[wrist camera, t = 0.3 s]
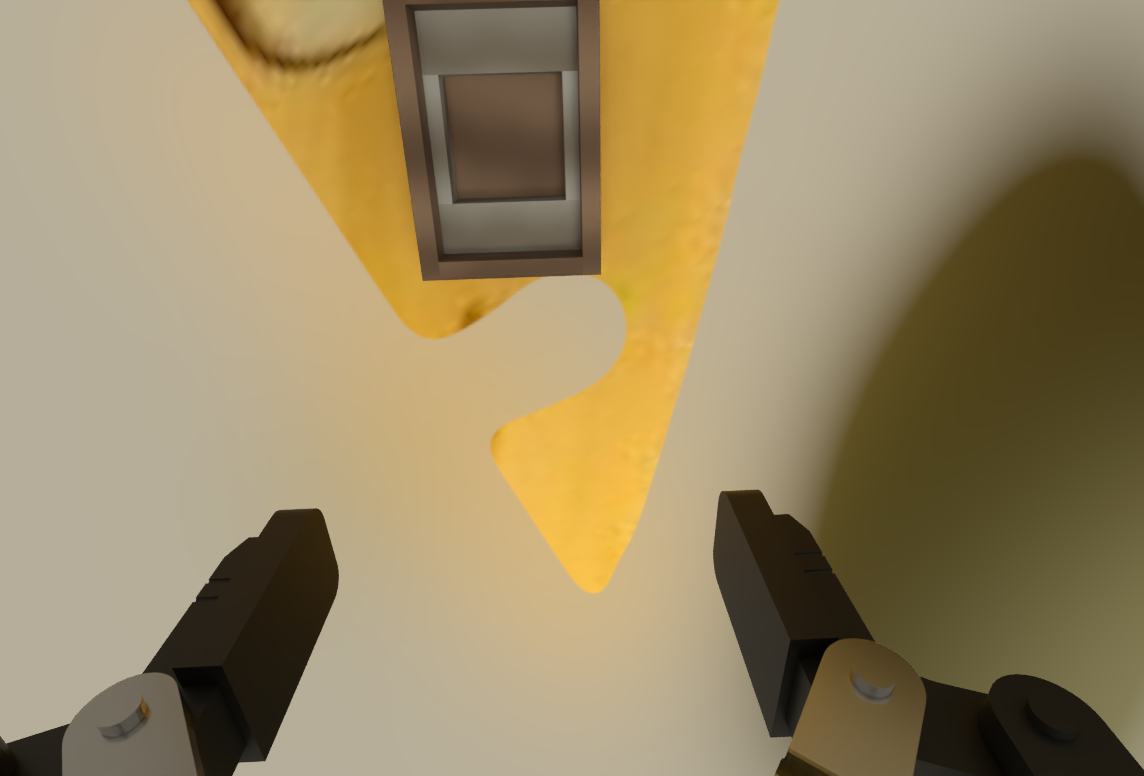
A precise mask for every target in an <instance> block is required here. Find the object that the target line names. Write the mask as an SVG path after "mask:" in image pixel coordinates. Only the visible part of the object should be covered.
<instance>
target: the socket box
mask: <svg viewBox="0 0 1144 776" xmlns="http://www.w3.org/2000/svg"><path fill="white" fill-rule="evenodd" d="M383 6H384V13H385V20H386V27H387V34H388V41H389V48H390V55H391V62H392V69H393V76H394V83H395V90H396V97H397V104H398V111H399V118H400V125H401V132H402V139H403V146H404V153H405V160H406V167H407V174H408V180H409V187H410V194H411V201H412V208H413V215H414V222H415V229H416V236H417V243H418V250H419V257H420V264H421V271H422V278H423V281H429V280H458V279H486V278H514V277H542V276H570V275H599V274H601V201H600V20H599V0H383Z"/></svg>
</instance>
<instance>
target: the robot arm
mask: <svg viewBox="0 0 1144 776" xmlns="http://www.w3.org/2000/svg"><path fill="white" fill-rule="evenodd" d="M713 559H714V568H715V574H716V579H717V582H718V585H719V588H720V591H721V594H722V597H723V600H724V603H725V606H726V609H727V612H728V614H729V617H730V620H731V623H732V626H733V629H734V632H735V635H736V638H737V641H738V644H739V647H740V650H741V653H742V655H743V658H744V661H745V664H746V667H747V670H748V673H749V676H750V679H751V682H752V685H753V688H754V691H755V693H756V697H757V699H758V702H759V705H760V708H761V711H762V714H763V717H764V720H765V723H766V726H767V729H768V731H769V735H770V737H789V736H791V737H792V741H791V743H790V746H789V749H788V751H787V754H786V756H785V758H784V759H782V760H781V761H780V763H779V766H778V768H777V770H776V773H775V776H1144V770H1143V769H1142V767H1141V766H1140V765H1139V764H1138V762H1137V761H1136V760H1135V759H1134V757H1133V756H1132V755H1131V754H1130V753H1129V751H1128V750H1127V749H1126V748H1125V747H1124V745H1123V744H1122V743H1121V742H1120V740H1119V739H1118V738H1117V737H1116V735H1115V734H1114V733H1113V732H1112V731H1111V729H1110V728H1109V727H1108V726H1107V724H1106V723H1105V722H1104V721H1103V720H1102V719H1101V717H1100V716H1099V715H1098V714H1097V713H1096V712H1095V711H1094V710H1093V709H1092V708H1091V707H1090V706H1088V705H1087V704H1086V703H1085V702H1083V701H1082V700H1081V699H1080V698H1078V697H1077V696H1075V695H1074V694H1072V693H1071V692H1069V691H1067V690H1066V689H1064V688H1062V687H1060V686H1058V685H1056V684H1054V683H1051V682H1049V681H1046V680H1044V679H1041V678H1037V677H1033V676H1028V675H1019V674H1014V675H1007V676H1003V677H1001V678H999V679H997V680H996V681H995V682H994V683H993V684H992V687H991V689H990V691H989V693H988V694H985V693H981V692H976V691H972V690H968V689H963V688H959V687H954V686H950V685H946V684H942V683H938V682H934V681H931V680H928V679H925V678H923V677H920V676H919V675H918V673H917V672H916V671H915V669H914V668H913V667H912V666H911V665H910V664H909V663H908V662H907V661H906V660H905V659H904V658H902V657H901V656H900V655H899V654H898V653H896V652H894V651H893V650H891V649H889V648H888V647H886V646H883V645H881V644H879V643H876V642H875V640H874V639H873V637H872V636H871V634H870V632H869V631H868V629H867V627H866V626H865V624H864V622H863V621H862V619H861V617H860V615H859V614H858V612H857V610H856V609H855V607H854V605H853V604H852V602H851V600H850V599H849V597H848V595H847V594H846V592H845V590H844V588H843V587H842V585H841V583H840V582H839V580H838V578H837V577H836V575H835V574H833V573H832V568H831V567H830V565H829V563H828V562H827V560H826V558H825V556H822V552H821V550H820V548H819V546H818V545H817V543H816V541H815V539H814V538H813V536H812V535H811V533H810V531H809V530H807V529H806V528H805V527H804V526H803V525H801V524H800V523H799V522H798V521H797V520H795V519H794V518H793V517H792V516H790V515H789V514H781V515H774V514H773V512H772V510H771V509H770V507H769V505H768V503H767V501H766V499H765V497H764V496H763V494H762V492H761V491H760V490H741V491H722V492H721V493H720V496H719V502H718V510H717V520H716V530H715V540H714V549H713ZM338 581H339V574H338V565H337V561H336V558H335V554H334V551H333V547H332V544H331V540H330V537H329V534H328V530H327V526H326V523H325V519H324V517H323V514H322V512H321V511H320V510H319V509H295V510H279V511H276V512H275V513H274V515H273V516H272V517H271V519H270V520H269V522H268V523H267V525H266V526H265V528H264V529H263V531H262V532H261V534H260V535H259V537H252V538H248V539H246V540H245V541H244V542H243V543H241V544H240V545H239V546H238V547H237V548H235V549H234V550H233V551H231V552H230V553H229V554H228V555H227V556H225V557H224V559H223V560H222V561H221V563H220V564H219V566H218V567H217V569H216V570H215V571H214V573H213V574H212V576H211V577H210V579H209V583H208V584H205V586H204V587H203V589H202V590H201V591H200V593H199V594H198V595H197V597H196V602H193V603H192V604H191V605H190V607H189V608H188V610H187V611H186V613H185V614H184V615H183V617H182V618H181V620H180V621H179V623H178V624H177V626H176V627H175V628H174V630H173V631H172V632H171V634H170V635H169V637H168V638H167V639H166V641H165V642H164V644H163V645H162V647H161V648H160V649H159V651H158V652H157V654H156V655H155V656H154V658H153V659H152V661H151V662H150V664H149V665H148V666H147V668H146V669H145V671H144V672H143V673H142V674H140V675H136V676H133V677H130V678H127V679H125V680H122V681H120V682H118V683H116V684H114V685H112V686H111V687H109V688H107V689H106V690H104V691H103V692H101V693H100V694H98V695H97V696H96V697H94V698H93V699H92V700H91V701H90V702H89V703H87V704H86V705H85V706H84V707H83V708H82V709H81V710H80V712H79V713H78V714H77V715H76V716H75V717H74V719H73V720H72V722H71V723H70V724H67V725H64V726H61V727H58V728H54V729H51V730H48V731H45V732H42V733H39V734H35V735H32V736H29V737H26V738H23V739H20V740H16V741H13V742H10V743H7V744H6V743H5V742H4V740H3V739H2V738H1V737H0V776H232V775H233V773H234V771H235V769H236V766H237V764H238V763H239V762H259V761H265V760H266V758H267V756H268V753H269V751H270V748H271V747H272V744H273V742H274V740H275V737H276V735H277V732H278V730H279V728H280V725H281V723H282V721H283V718H284V716H285V714H286V712H287V709H288V707H289V705H290V702H291V700H292V698H293V695H294V693H295V690H296V688H297V686H298V684H299V681H300V679H301V677H302V674H303V672H304V669H305V667H306V665H307V662H308V660H309V658H310V655H311V653H312V651H313V648H314V646H315V644H316V642H317V639H318V637H319V634H320V632H321V630H322V627H323V625H324V622H325V620H326V618H327V616H328V613H329V611H330V609H331V606H332V604H333V602H334V599H335V597H336V593H337V589H338Z"/></svg>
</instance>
